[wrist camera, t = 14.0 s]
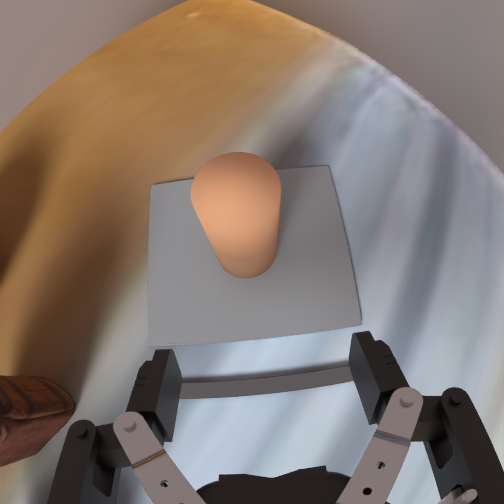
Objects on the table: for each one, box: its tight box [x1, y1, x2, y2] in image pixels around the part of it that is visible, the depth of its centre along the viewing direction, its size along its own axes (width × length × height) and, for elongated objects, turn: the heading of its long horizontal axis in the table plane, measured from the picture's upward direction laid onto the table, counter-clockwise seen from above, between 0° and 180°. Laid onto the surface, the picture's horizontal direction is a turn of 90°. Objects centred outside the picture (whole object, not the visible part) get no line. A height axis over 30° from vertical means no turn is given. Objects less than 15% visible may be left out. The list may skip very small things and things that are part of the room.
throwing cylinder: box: [191, 152, 281, 278], centre depth 20 cm, size 5×5×9 cm
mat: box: [148, 166, 362, 399], centre depth 24 cm, size 18×18×1 cm
